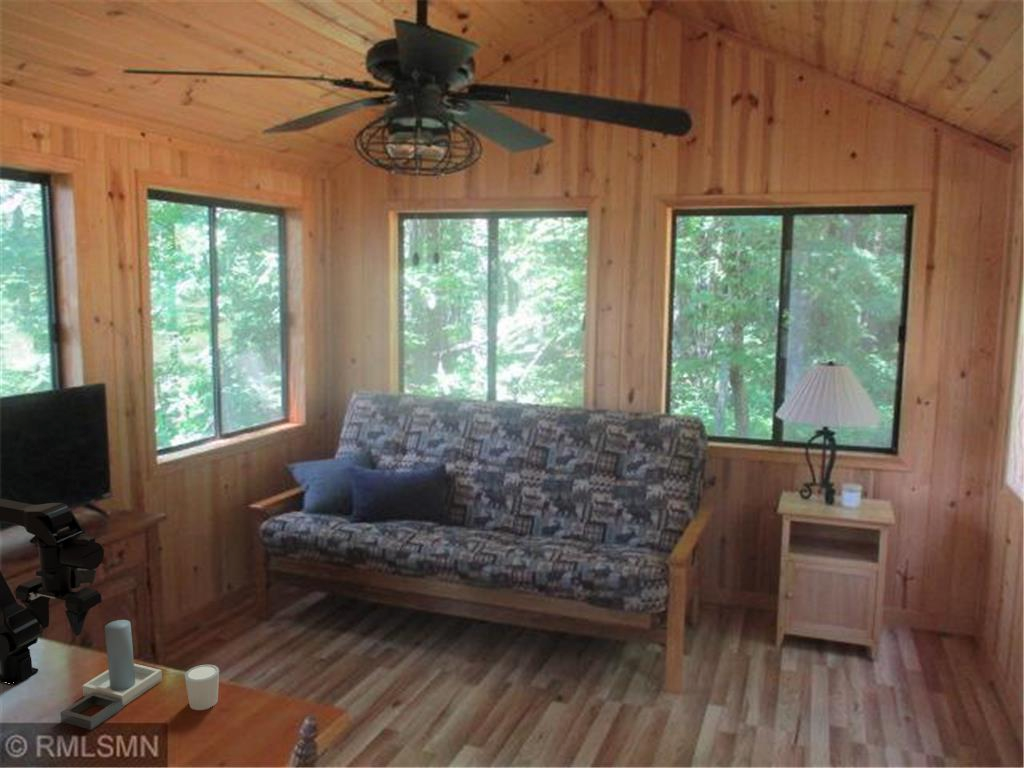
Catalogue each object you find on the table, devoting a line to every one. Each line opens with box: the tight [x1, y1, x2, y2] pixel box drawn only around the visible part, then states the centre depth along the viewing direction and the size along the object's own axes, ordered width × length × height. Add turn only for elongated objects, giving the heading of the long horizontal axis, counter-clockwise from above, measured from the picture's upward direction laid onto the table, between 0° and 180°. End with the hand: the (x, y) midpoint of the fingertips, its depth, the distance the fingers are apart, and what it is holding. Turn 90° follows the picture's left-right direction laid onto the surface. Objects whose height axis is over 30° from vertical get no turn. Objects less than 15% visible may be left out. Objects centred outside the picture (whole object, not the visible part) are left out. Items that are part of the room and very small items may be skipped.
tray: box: [82, 662, 163, 707], centre depth 174 cm, size 11×11×2 cm
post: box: [104, 619, 135, 691], centre depth 173 cm, size 5×5×14 cm
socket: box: [60, 692, 124, 731], centre depth 165 cm, size 8×8×2 cm
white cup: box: [184, 664, 220, 711], centre depth 169 cm, size 7×7×7 cm
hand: (61, 631), depth 173 cm, fingers open, 9 cm apart
